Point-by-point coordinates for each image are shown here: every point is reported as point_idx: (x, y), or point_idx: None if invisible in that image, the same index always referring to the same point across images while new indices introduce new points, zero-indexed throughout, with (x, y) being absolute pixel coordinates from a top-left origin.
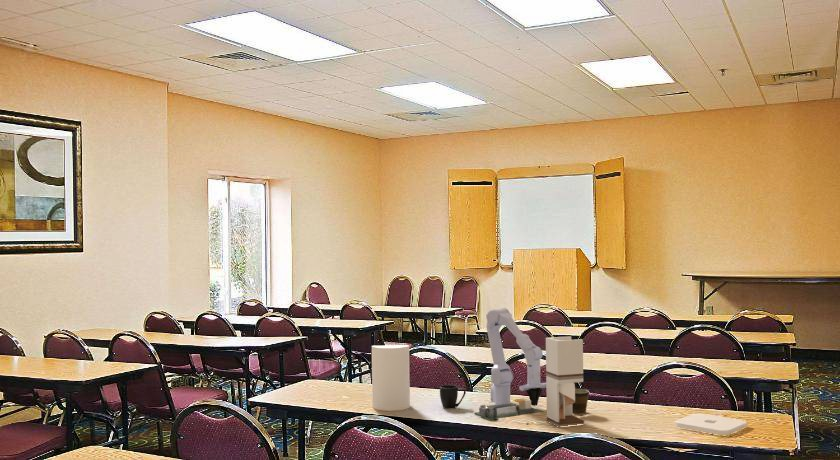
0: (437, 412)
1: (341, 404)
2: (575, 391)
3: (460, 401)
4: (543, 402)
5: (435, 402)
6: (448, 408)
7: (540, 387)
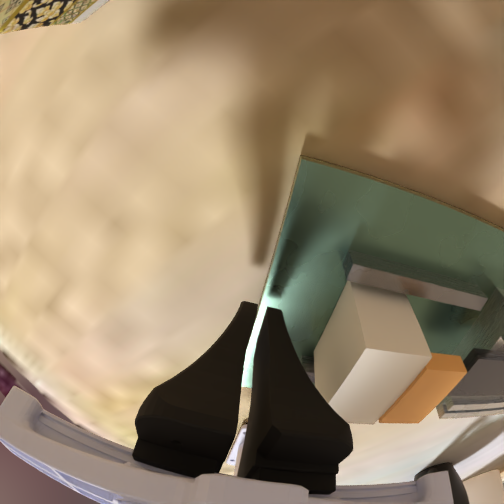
0: (501, 443)
1: None
2: None
3: None
4: (70, 352)
5: None
6: (451, 463)
7: (120, 454)
